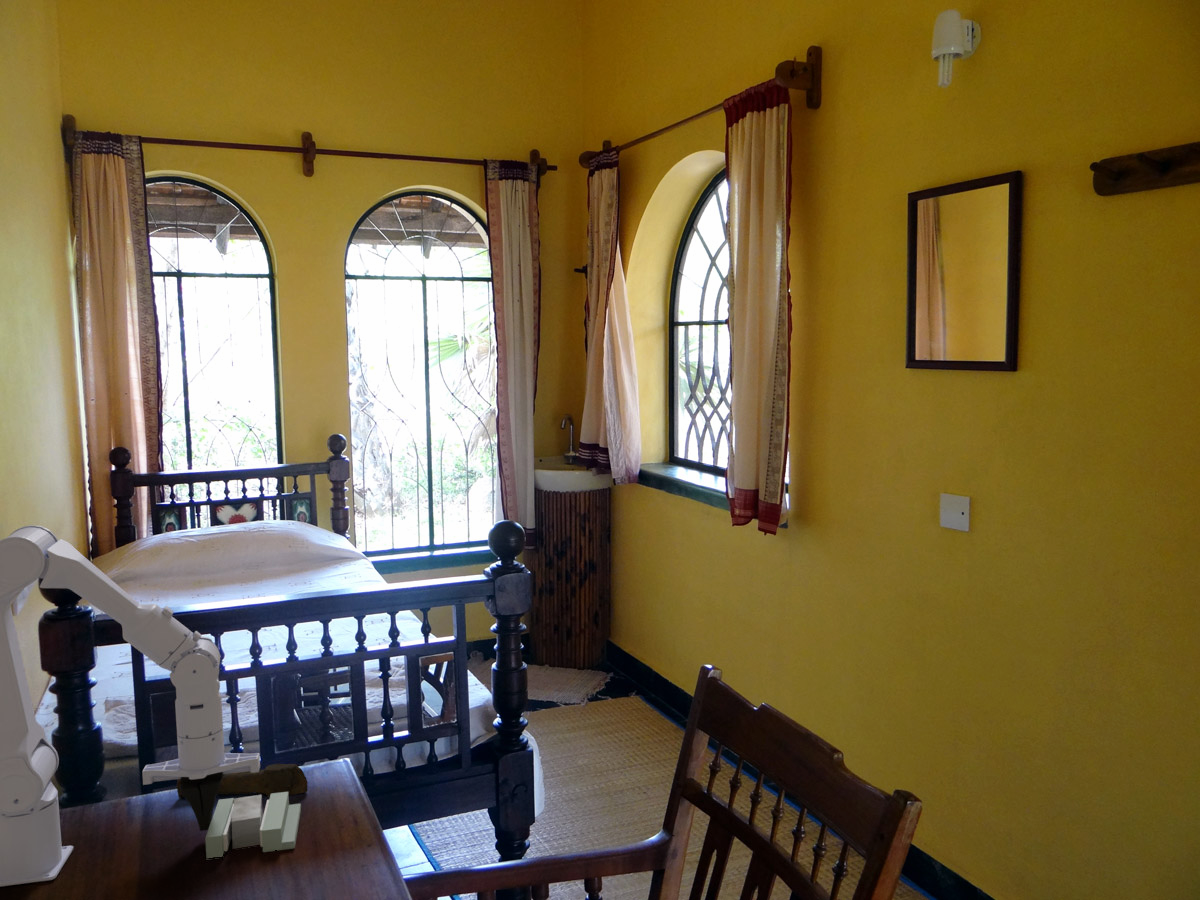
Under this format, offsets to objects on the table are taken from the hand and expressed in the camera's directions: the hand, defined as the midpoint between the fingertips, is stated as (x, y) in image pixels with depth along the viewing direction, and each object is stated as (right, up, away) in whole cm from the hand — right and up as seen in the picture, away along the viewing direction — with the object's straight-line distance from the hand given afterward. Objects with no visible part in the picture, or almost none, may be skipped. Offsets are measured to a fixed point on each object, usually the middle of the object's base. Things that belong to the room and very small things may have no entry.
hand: (205, 826), depth 128 cm
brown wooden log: (0, -1, +14) cm, 14 cm away
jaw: (+2, -2, +1) cm, 3 cm away
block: (+5, -2, +1) cm, 6 cm away
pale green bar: (+9, -2, +2) cm, 9 cm away
